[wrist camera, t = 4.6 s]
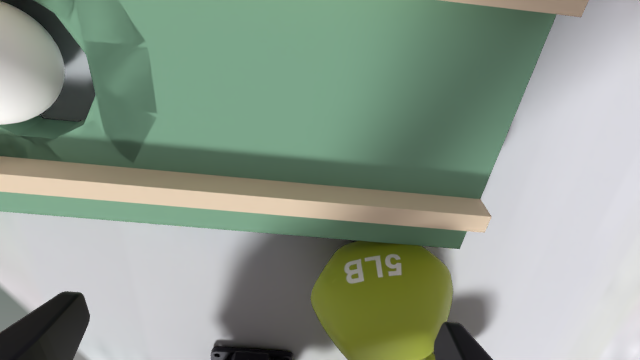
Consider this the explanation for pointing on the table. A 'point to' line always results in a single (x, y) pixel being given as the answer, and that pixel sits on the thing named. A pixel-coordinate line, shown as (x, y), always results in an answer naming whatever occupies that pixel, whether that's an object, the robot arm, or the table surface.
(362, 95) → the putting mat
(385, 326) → the dumbbell
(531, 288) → the table surface
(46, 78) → the golf ball
